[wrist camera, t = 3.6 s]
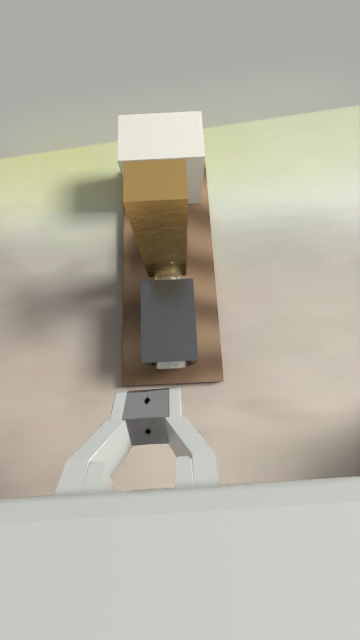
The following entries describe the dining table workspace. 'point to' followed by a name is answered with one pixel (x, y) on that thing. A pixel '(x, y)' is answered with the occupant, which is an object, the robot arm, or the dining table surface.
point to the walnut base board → (204, 296)
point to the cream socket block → (165, 143)
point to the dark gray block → (168, 322)
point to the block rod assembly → (159, 219)
